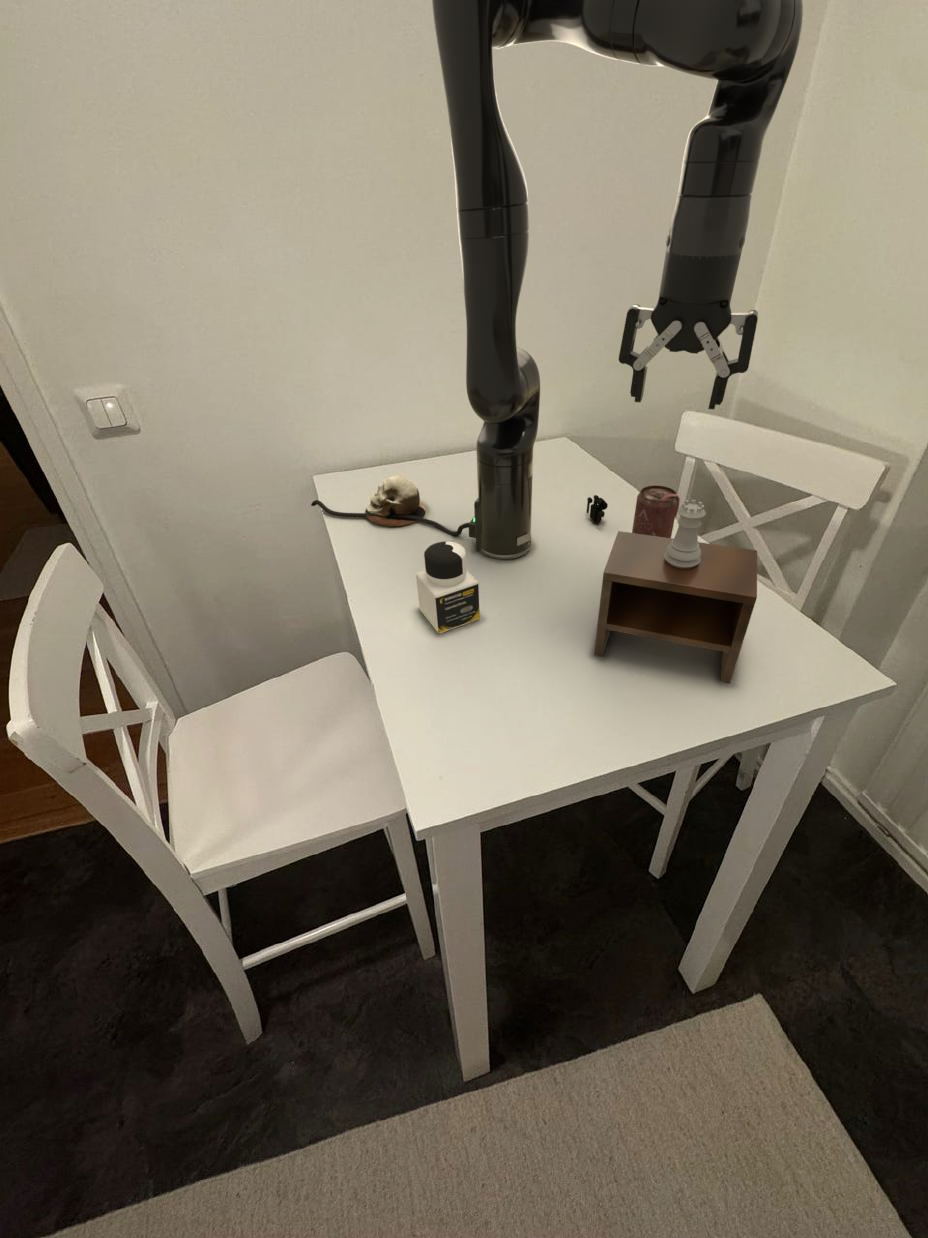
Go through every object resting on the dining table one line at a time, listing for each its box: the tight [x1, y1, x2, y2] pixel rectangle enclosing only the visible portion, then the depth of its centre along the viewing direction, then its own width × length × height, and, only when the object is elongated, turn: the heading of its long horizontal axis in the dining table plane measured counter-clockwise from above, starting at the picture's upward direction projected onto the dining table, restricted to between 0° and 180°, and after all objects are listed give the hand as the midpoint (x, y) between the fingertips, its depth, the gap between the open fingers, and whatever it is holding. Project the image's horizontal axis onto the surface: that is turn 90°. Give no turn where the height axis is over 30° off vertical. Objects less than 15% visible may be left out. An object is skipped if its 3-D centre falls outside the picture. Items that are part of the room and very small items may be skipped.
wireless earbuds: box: [585, 494, 609, 526], centre depth 114 cm, size 7×2×5 cm, turn 14°
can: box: [631, 484, 681, 538], centre depth 97 cm, size 6×6×14 cm
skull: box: [364, 475, 426, 527], centre depth 120 cm, size 12×10×10 cm
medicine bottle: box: [415, 541, 481, 634], centre depth 90 cm, size 7×7×12 cm
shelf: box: [593, 530, 758, 684], centre depth 82 cm, size 18×11×14 cm, turn 69°
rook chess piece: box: [664, 499, 707, 569], centre depth 75 cm, size 4×4×8 cm
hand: (674, 403), depth 73 cm, fingers open, 8 cm apart
